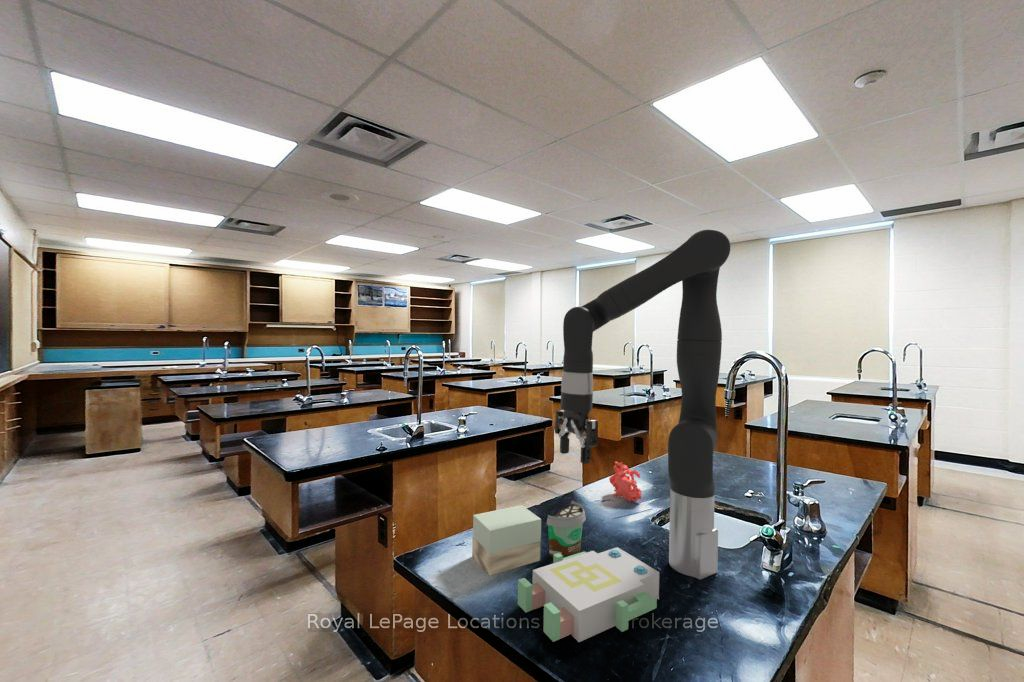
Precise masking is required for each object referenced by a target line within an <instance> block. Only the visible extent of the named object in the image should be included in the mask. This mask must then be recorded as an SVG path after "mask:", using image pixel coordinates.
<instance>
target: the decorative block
mask: <svg viewBox="0 0 1024 682" xmlns="http://www.w3.org/2000/svg"><path fill="white" fill-rule="evenodd" d="M552 559H553V561H552V563H550V564H548V565H545V566H541V567H538V568H535V569H532V583H530V581H529V580H528V579H526V578H525V577H523V578H519V579H517V605H518V606H519V607H520V608H521V610H522V611H524V613H529V612H530V611H531V612H532V611H534V610H538V609H539V608H541V607H542V606H543V607H544V608H543V607H542V608H543V629H542V630H543V633H544V634H545V635H546V636H547V637H548V638H549V639H550V641H552V642H553V643H554V642H557V641H559V640H560V639H563V638H565V637H567V636H571V637H573V638H574V640H576V641H577V642H578V643H580V642H583V641H585V640H587V639H589V638H592V637H594V636H596V635H598V634H600V633H602V632H605V631H607V630H609V629H611V628H613V627H616V629H618V630H619V631H620V632H621V633H623V632H625V631H627V630H629V621H631V620H633V619H636V618H637V617H640V616H642V615H644V614H647V613H649V612H650V611H653V610H655V609H657V608H658V607H657V606H658V604H657V603H658V602H657V601H658V600H660V571H658V570H656V569H654V568H653V567H652V566H650V565H648V564H646V563H645V562H643V561H641V560H640V559H638V558H637V557H635V556H633V555H631V554H629V553H628V552H626V551H624V550H623V549H622V548H619V547H618V546H617V547H614V548H611V549H608V550H604V551H602V552H596V551H595V550H591V551H582V552H581V551H580V553H578V554H574V555H571V556H568V557H565V558H563V556H562V555H561V554H560V553H557V554H554V555H553V557H552ZM657 599H658V600H657Z"/></svg>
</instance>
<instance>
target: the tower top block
mask: <svg viewBox="0 0 1024 682" xmlns="http://www.w3.org/2000/svg"><path fill="white" fill-rule="evenodd" d="M472 515H473V516H472V518H473V519H472V523H473V524H472V526H473V527H472V537H474V538H475V539H476V540H477V541H478V542H479V543H480V544H481V545H482V546H483V547H484V548H485V549H486V551H487V552H488V553H489V554H491V553H495V552H499V551H503V550H507V549H511V548H515V547H519V546H522V545H526V544H530V543H534V542H538V541H540V542H541V541H542V519H541V518H540V517H539V516H537V515H536V514H535V513H534V512H532V511H531V510H529V509H528V508H526V507H525V506H524V505H522V504H521V505H515V506H511V507H506V508H501V509H500V508H499V509H495V510H491V511H486V512H482V513H477V514H476V513H475V514H472Z"/></svg>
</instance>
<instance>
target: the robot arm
mask: <svg viewBox="0 0 1024 682" xmlns="http://www.w3.org/2000/svg"><path fill="white" fill-rule="evenodd" d="M730 253H731V241H730V239H729V238H728V236H727V235H726V234H725V233H724V232H722V231H720V230H717V229H713V228H707V229H702V230H699V231H697V232H695V233H694V234H692V235H691V236H690V237H689V238H688V239H687V240H685V242H683V243H682V244H681V245H680V246H679V247H678V248H676V249H674V250H673V251H672V252H670V253H669V254H667V255H666V256H665V257H663V258H662V259H660V260H659V261H656V262H655V263H654V264H651V265H650V266H648V267H647V268H644V269H643V270H641V271H639V272H637V273H635V274H633V275H631V276H629V277H627V278H626V279H624V280H621V281H620V282H618V283H616V284H614V285H613V286H611V287H610V288H608V289H606V290H604V291H603V292H601V293H600V294H599V295H598V296H597V297H596V298H594V299H593V300H591V301H589V302H587V303H586V304H584V305H582V306H574V307H572V308H570V309H569V310H568V311H567V312H566V313H565V315H564V317H563V322H562V328H563V329H562V330H563V331H562V332H563V333H562V334H563V347H564V348H563V349H564V351H563V352H564V353H563V364H562V367H563V369H562V376H561V387H560V392H561V393H560V410H559V409H558V410H556V411H555V420H554V421H555V423H554V433H555V435H558V437H559V453H560V454H562V455H565V454H569V453H570V452H569V451H570V438H569V437H570V436H571V434H572V433H573V434H574V435H575V437H576V439H578V440H579V443H580V445H581V447H580V463H581V464H589V463H590V462H591V459H592V458H591V455H592V448H593V447H597V446H598V445H599V422H598V419H590V418H589V414H590V412H592V411H593V397H594V395H593V394H594V377H593V376H594V375H593V370H594V367H593V366H594V354H593V350H592V349H593V336H594V335H593V334H594V332H596V331H597V330H599V329H600V328H602V327H603V326H605V325H607V324H608V323H610V322H611V321H614V320H616V319H618V318H620V317H622V316H624V315H626V314H628V313H630V312H632V311H633V310H635V309H637V308H639V307H640V306H642V305H644V304H645V303H647V302H648V301H650V300H652V299H653V298H655V297H656V296H658V295H660V294H661V293H662V292H664V291H666V290H667V289H668V288H670V287H673V286H674V285H676V284H678V283H680V282H682V297H681V298H682V299H681V305H680V310H679V312H680V313H679V319H678V329H677V338H676V339H677V341H676V367H677V373H678V377H679V384H680V388H681V389H680V390H681V405H680V413H679V419H678V423H677V424H675V426H673V428H672V429H671V430H670V433H669V436H668V442H667V464H668V465H667V471H668V472H667V473H668V478H669V480H670V484H669V485H670V487H669V489H670V490H669V492H670V493H669V530H668V531H669V532H668V533H669V537H668V538H669V539H668V540H669V541H668V543H669V544H668V545H669V546H668V550H669V551H668V563H669V566H670V567H671V568H672V569H673V570H674V571H676V572H678V573H680V574H682V575H685V576H688V577H692V578H696V579H698V580H703V579H705V578H708V577H709V576H712V575H714V574H716V573H717V574H718V564H719V563H718V557H719V556H718V555H719V553H718V551H719V530H718V529H717V528H715V497H716V496H715V492H716V483H715V480H714V452H715V450H716V448H717V446H718V440H719V437H718V425H717V411H716V410H717V406H716V405H717V403H716V400H717V398H716V397H717V390H718V386H719V385H718V384H719V376H720V371H721V370H720V369H721V360H722V359H721V357H722V341H723V334H722V333H723V332H722V322H721V317H720V312H719V307H718V301H717V297H718V296H717V291H718V281H719V275H720V269H721V267H722V266H724V264H725V263H726V262H727V260H728V258H729V256H730ZM560 425H561V426H560Z"/></svg>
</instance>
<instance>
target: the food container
mask: <svg viewBox="0 0 1024 682" xmlns="http://www.w3.org/2000/svg"><path fill="white" fill-rule="evenodd" d="M586 517H587V516H586V512H585V509H584V507H583V505H582V504H580V503H578V502H576V501H573V500H571V504H569V506H568V507H565V508H562V509H560V510H559V511H558V512H557V513H556V514H554V515H553V516H552V515H549V514H547V519H546V525H547V528H548V529H547V530H548V531H547V532H548V553H549V557H550V556H551V558H553V555H554V554H557V553H560V554H561V555H562V556H563V558H565V557H568V556H571V555H574V554H578V553H581V546H582V545H581V544H582V534H583V533H582V532H583V524H584V523H585V521H586V519H587V518H586Z"/></svg>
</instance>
